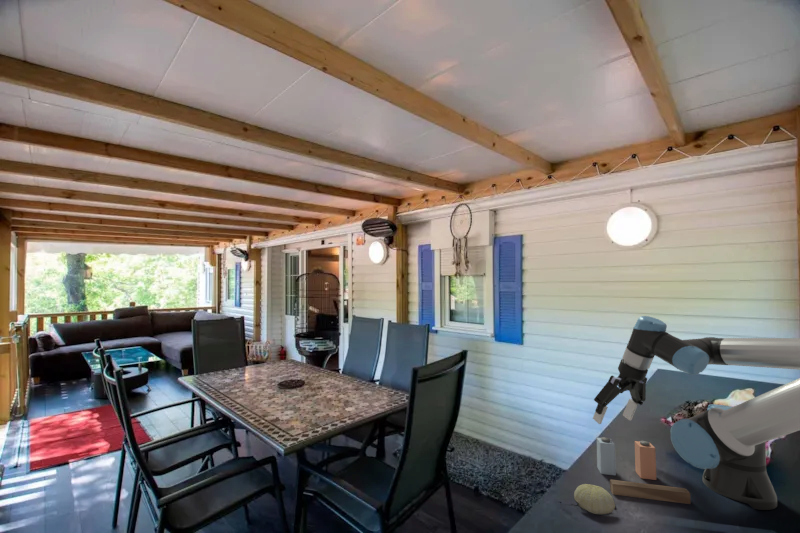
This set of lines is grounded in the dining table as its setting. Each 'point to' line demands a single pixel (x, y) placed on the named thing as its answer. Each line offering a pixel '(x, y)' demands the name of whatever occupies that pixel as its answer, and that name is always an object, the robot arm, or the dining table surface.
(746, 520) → the dining table surface
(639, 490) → the maple board
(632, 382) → the robot arm
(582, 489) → the sea urchin shell
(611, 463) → the grey socket block
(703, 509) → the dining table surface
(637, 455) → the terracotta plug
